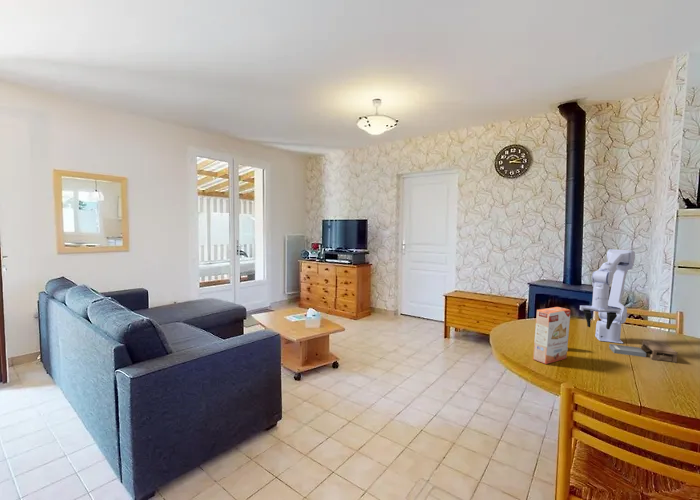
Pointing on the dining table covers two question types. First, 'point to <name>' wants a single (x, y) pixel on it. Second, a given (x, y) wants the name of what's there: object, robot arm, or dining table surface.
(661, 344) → the shelf
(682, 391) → the dining table surface
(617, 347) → the tile
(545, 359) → the cracker box
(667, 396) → the dining table surface
